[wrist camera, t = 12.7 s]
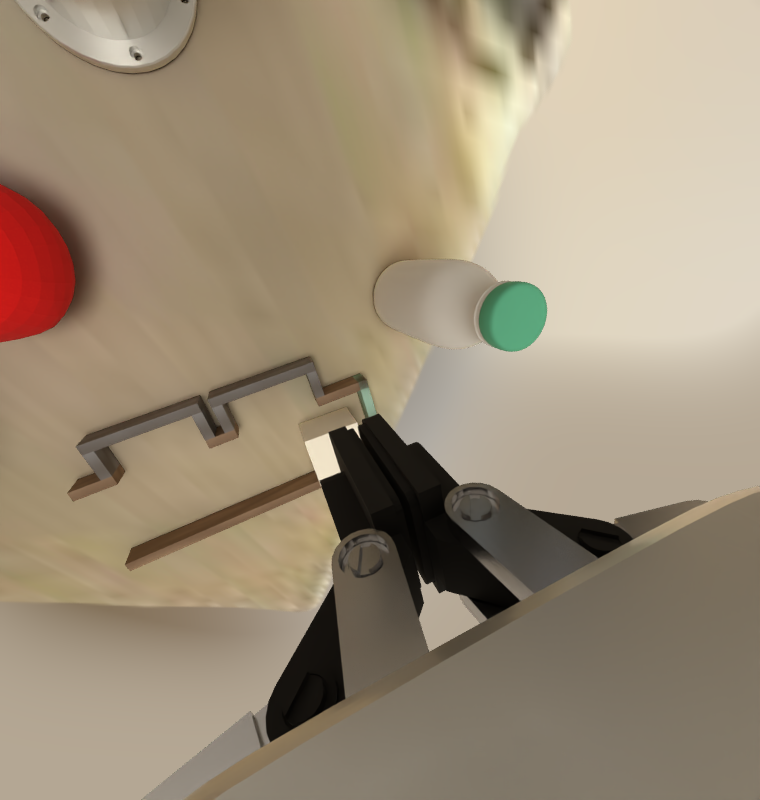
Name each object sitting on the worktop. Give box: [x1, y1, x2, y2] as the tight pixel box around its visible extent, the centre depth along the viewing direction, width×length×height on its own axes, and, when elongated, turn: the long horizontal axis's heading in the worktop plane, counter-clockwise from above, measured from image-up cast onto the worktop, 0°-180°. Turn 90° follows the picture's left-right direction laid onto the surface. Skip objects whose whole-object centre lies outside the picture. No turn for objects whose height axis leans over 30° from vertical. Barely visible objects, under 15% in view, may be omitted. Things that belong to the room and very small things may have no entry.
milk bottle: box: [374, 259, 547, 352], centre depth 32 cm, size 8×8×20 cm
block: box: [299, 407, 360, 485], centre depth 42 cm, size 6×6×5 cm
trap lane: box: [67, 357, 376, 571], centre depth 40 cm, size 15×31×2 cm, turn 106°
